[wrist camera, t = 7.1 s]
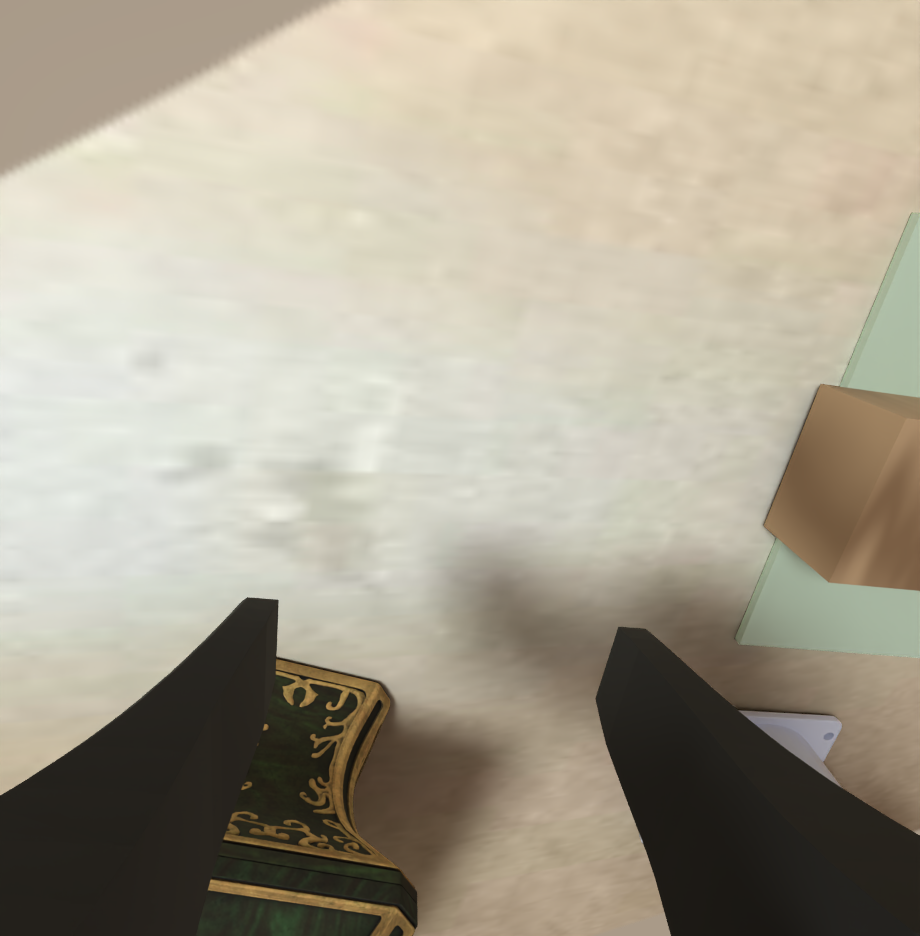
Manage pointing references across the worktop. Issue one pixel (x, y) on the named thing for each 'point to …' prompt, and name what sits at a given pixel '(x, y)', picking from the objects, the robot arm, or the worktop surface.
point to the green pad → (790, 578)
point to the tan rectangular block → (855, 490)
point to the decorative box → (308, 822)
